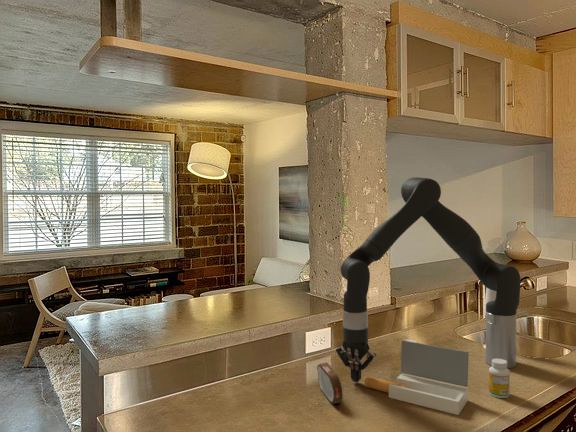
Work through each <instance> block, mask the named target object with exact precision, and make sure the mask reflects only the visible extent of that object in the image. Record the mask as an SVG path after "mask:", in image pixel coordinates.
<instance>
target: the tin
mask: <svg viewBox="0 0 576 432" xmlns="http://www.w3.org/2000/svg"><path fill="white" fill-rule="evenodd" d="M316 369H317V382H318V385H319V388H320V391H321V390H322V391H321V392H322V393H323V394H324V396H325V397H326V399H327V400H328V402H329V401H330V402H329V403H330V404H332V405H333V404H339V403H342V402H343V398H344V396H343V393H344V392H343V387H342V382H341V379H340V377H339V374H338V373H337V372H336V371H335V370H334V368H333V367H332V366H331V365H330V364H329V362H327V361H326V362H323V363H320V364H319V363H318V364H317V367H316Z"/></svg>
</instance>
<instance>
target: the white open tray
mask: <svg viewBox="0 0 576 432" xmlns="http://www.w3.org/2000/svg"><path fill="white" fill-rule="evenodd" d="M396 383H397V384H401V385H404V386H405V387H406V388H405V387H401V386H396V385H392V384H390V385H389V393H388V398H390V399H393V400H398V401H401V402H406V403H410V404H414V405H417V406H422V407H424V408H428V409H433V410H438V411H440V412H441V411H442V412H443V413H444V412H445V413H447V414H453V415H456V416H459V415H460V413H461V412H462V410H463V408H464V407H465V405H466V404H467V402H469V387H464V386H460V385H455V384H451V383H446V382H442V381H437V380H433V379H428V378H423V377H419V376H414V375H410V374H405V373H401V374H399V375H398V376H397V377H396Z"/></svg>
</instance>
